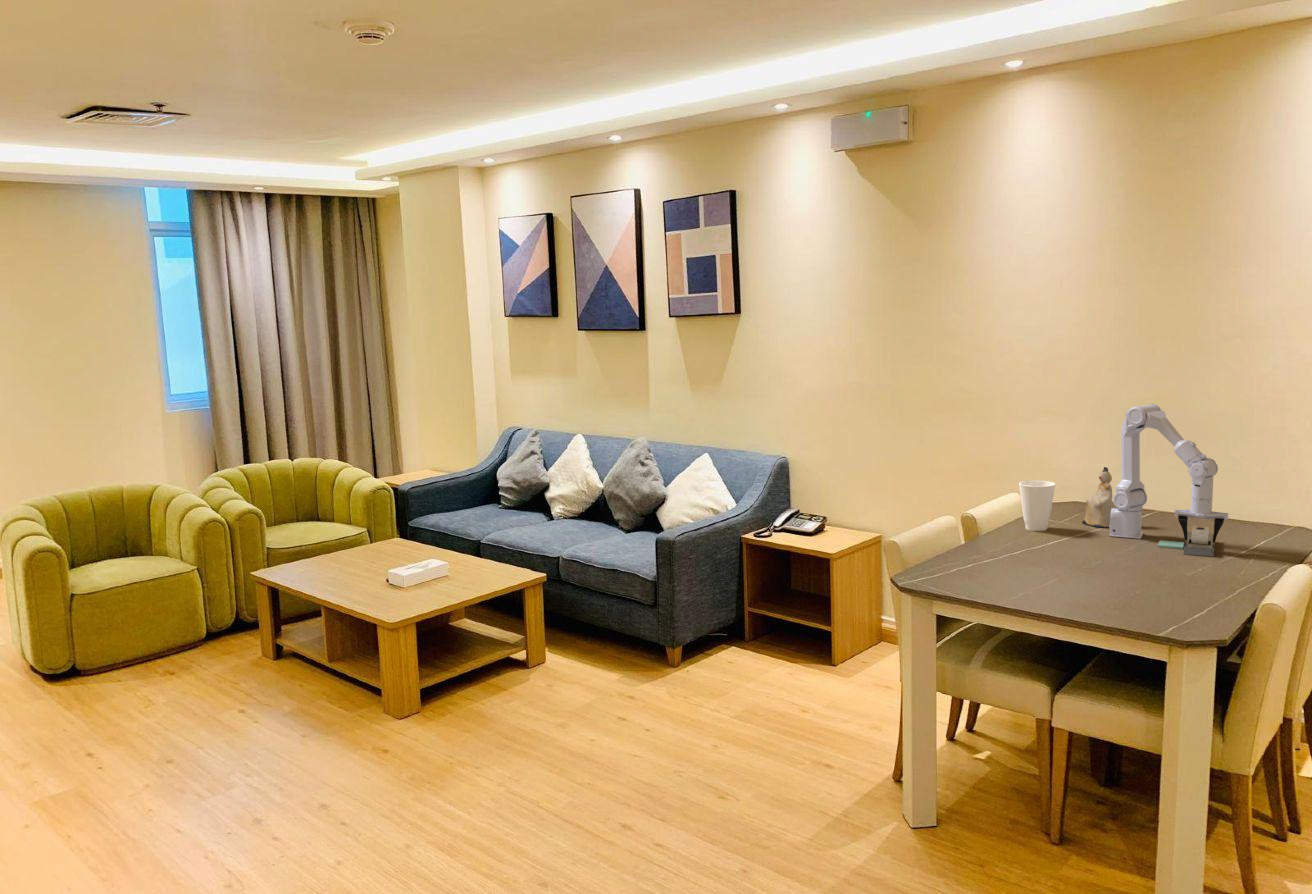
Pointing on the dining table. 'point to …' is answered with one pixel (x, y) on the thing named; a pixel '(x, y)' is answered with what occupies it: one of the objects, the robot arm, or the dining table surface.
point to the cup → (1036, 503)
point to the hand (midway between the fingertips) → (1199, 540)
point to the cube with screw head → (1200, 535)
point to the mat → (1171, 544)
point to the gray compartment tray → (1199, 547)
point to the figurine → (1100, 503)
